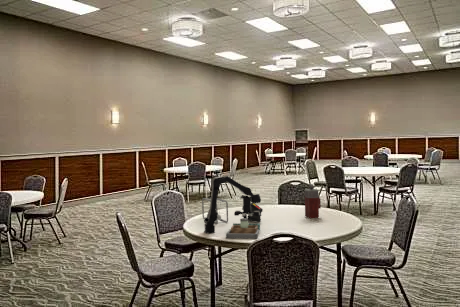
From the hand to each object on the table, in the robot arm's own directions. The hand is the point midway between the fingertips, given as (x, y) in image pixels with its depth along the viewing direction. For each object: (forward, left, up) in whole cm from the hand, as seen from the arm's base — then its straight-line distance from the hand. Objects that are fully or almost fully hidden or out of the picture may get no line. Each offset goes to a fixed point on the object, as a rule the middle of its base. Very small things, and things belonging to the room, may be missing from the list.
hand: (247, 224), depth 300 cm
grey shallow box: (-12, -20, -3) cm, 24 cm away
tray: (-6, -11, -3) cm, 13 cm away
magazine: (+15, +21, -3) cm, 26 cm away
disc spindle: (-8, -13, -2) cm, 16 cm away
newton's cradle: (-13, +40, -3) cm, 42 cm away
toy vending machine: (+66, +16, -3) cm, 68 cm away
